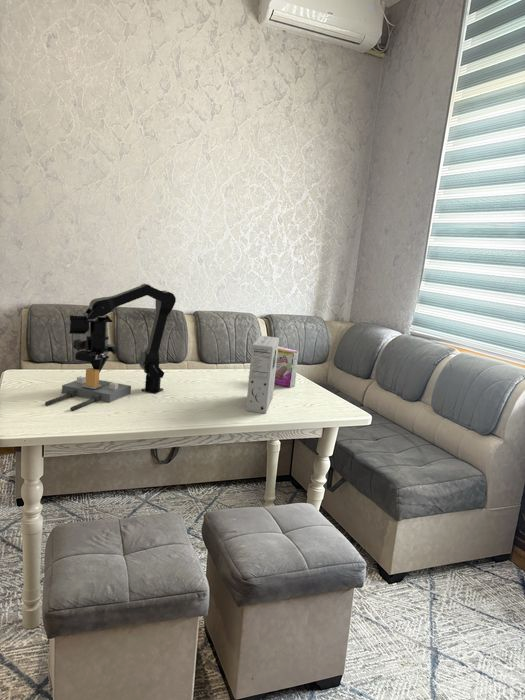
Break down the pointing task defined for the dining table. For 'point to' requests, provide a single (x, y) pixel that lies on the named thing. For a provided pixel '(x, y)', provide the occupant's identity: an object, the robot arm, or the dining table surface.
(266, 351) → the cereal box
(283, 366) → the candy bar box
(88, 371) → the breaker handle
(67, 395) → the twin dark prongs
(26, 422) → the dining table surface
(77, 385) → the panel
